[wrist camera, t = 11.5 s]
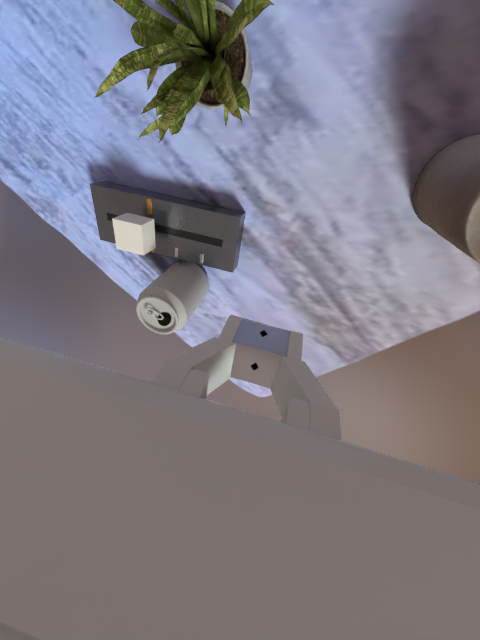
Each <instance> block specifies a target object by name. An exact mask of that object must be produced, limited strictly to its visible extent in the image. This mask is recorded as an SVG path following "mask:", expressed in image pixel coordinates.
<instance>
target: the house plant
mask: <svg viewBox="0 0 480 640" xmlns="http://www.w3.org/2000/svg"><path fill="white" fill-rule="evenodd" d="M113 1H115V2H116V3H117V4H119V5H120V6H121V7H122V8H123V9H124V10H126V11H127V12H128V13H129V14H131V15H132V16H133V17H134V18H136V19H137V20H138V21H137V22H135V23H134V24H133V26H132V28H131V34H132V36H133V38H134V41H135V42H136V43H137V44H138V45H140V46H143V47H144V48H140V49H137V50H135V51H132V52H130V53H128V54H127V55H125V56H123V57H122V58H120V59H119V61H118V62H117V64H116V65H115V66H114V68H113V69H112V71H111V72H110V74H109V76H108V77H107V78H106V79H105V80H104V81H103V83H102V84H101V85H100V87H99V89H98V92H97V95H96V96H95V97H98V96H100V95H101V94H103V93H104V92H106V91H108V90H109V89H111V88H112V87H113V86H114V85H116V84H117V83H119V82H120V81H122V80H123V79H124V78H126V77H127V76H129V75H130V74H132V73H134V72H136V71H139V70H142V69H147V68H150V72H149V75H148V80H147V83H148V89H149V88H150V85H151V83H152V81H153V78H154V76H155V74H156V72H157V69H158V67H159V66H161V65H165V64H170V63H176V70H175V71H174V72H173V73H172V74H170V75H169V76H168V77H167V78H166V79H165V81H164V82H163V83H162V84H161V86H160V87H159V89H158V92H157V95H156V96H155V97H154V98H153V99H152V100H151V101H150V103H148V104H147V105H146V106H145V107H144V110H143V112H142V113H145V112H147V111H149V110H151V109H153V108H155V107H156V114H157V116H158V115H162V116H161V117H160V118H158V119H157V120H155V121H154V122H152V123H151V124H150V125H149V126H148V127H147V128H146V129H145V130H144V131H143V132H142V133H141V135H140V136H139V138H140V137H141V136H144V135H148V134H150V133H151V132H153V131H155V130H157V129H158V128H159V134H160V141H161V140H162V138H163V137H164V135H165V133H166V131H167V129H168V128H169V129H170V132H171V134H176V133H178V132H179V131H180V130H181V128H182V126H183V123H184V120H185V117H186V114H187V113H188V112H189V111H190V110H191V109H192V108H193V107H194V106H195V104H198V105H199V106H201V107H204V108H207V109H219V108H221V107H224V117H225V125H226V124H227V120H228V110H229V112H230V113H231V114H232V115H233V116H235V117H237V118H238V119H240V120H241V123H242V119H241V114H240V111H239V108H238V107H240V108H242V109H243V110H245V111H246V112H248V114H249V115H250V112H249V105H250V98H249V95H248V92H247V90H248V88H249V86H250V83H251V78H252V64H251V58H250V53H249V47H248V42H247V37H246V33H245V31H244V27H246V26H247V25H248V24H250V23H251V22H252V21H253V20H254V19H255V18H256V17H257V16H258V15H259V14H260V13H261V12H262V11H263V10H264V9H265V8H266V7H268V6H269V5H274V4H273V3H272V2H270V1H269V0H242V2H241V3H240V4H239V6H238V7H237V8H236V10H235V11H233V10H232V9H231V8H230V7H228V6H227V5H226V4H225V3H222V2H219V1H216V0H184V2H185V4H186V7H187V9H188V13H187V12H186V9H185V6H184V3H183V0H175V2H176V4H177V6H178V7H177V6H176V5H175V4H174V3H173V2H172V1H170V0H156V1H157V2H158V3H160V4H161V5H162V6H163V7H164V8H165V9H166V10H167V11H168V12H170V13H171V14H172V15H173V16H174V17H175V18H177V19H178V20H179V21H180V22H181V23H178V24H176V23H175V22H173V21H171V20H170V19H168V18H166V17H165V16H163V15H161V14H159V13H157V12H156V11H154V10H153V9H152V8H150V7H149V6H148V5H146V4H145V3H144V2H143V1H141V0H113ZM147 91H148V90H147ZM142 113H141V114H142ZM160 141H159V142H160Z"/></svg>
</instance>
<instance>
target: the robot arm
mask: <svg viewBox="0 0 480 640" xmlns="http://www.w3.org/2000/svg"><path fill="white" fill-rule="evenodd" d="M302 342H303V334H302V333H298V332H294V331H288V330H284V329H280V328H276V327H273V326H269V325H266V324H262V323H259V322H255V321H252V320H248V319H245V318H241V317H238V316H234V315H230V316H229V318H228V320H227V322H226V324H225V326H224V328H223V330H222V332H221V334H220V336H219V338H216V337H215V338H212V339H210V340H208V341H206V342H204V343H202V344H199V345H197V346H195V347H193V348H191V349H188V350H186V351H184V352H182V353H180V354H178V355H175V356H173V357H171V358H169V359H167V360H166V361H165V362H164V364H163V365H162V367H161V368H160V370H159V371H158V372H157V374H156V375H155V377H154V378H153V380H152V381H151V382H148V381H145V380H141V379H138V378H134V377H132V376H128V375H125V374H121V373H118V372H115V371H112V370H108V369H105V368H102V367H99V366H96V365H92V364H89V363H86V362H83V361H79V360H76V359H73V358H69V357H66V356H63V355H60V354H56V353H53V352H50V351H47V350H43V349H40V348H37V347H34V346H30V345H27V344H24V343H20V342H17V341H14V340H11V339H8V338H4V337H1V336H0V640H480V483H477V482H474V481H471V480H468V479H465V478H461V477H458V476H455V475H452V474H448V473H445V472H442V471H439V470H435V469H432V468H429V467H425V466H422V465H419V464H415V463H412V462H409V461H406V460H402V459H399V458H396V457H393V456H390V455H386V454H383V453H380V452H376V451H373V450H370V449H366V448H363V447H360V446H357V445H353V444H350V443H347V442H344V441H341V430H340V416H339V410H338V409H337V407H336V406H335V404H334V403H333V401H332V400H331V399H330V397H329V396H328V394H327V393H326V392H325V390H324V389H323V387H322V386H321V384H320V383H319V382H318V380H317V379H316V377H315V376H314V374H313V373H312V372H311V370H310V369H309V367H308V366H307V365H306V363H305V362H303V361H301V356H302ZM230 377H233V378H236V379H240V380H244V381H248V382H251V383H254V384H257V385H261V386H264V387H267V388H270V389H271V391H272V394H273V396H274V399H275V401H276V404H277V406H278V409H279V411H280V414H281V416H282V419H281V421H280V422H278V421H275V420H272V419H269V418H266V417H262V416H259V415H256V414H252V413H249V412H246V411H243V410H239V409H236V408H233V407H230V406H226V405H223V404H220V403H216V402H213V401H210V400H207V399H206V397H207V395H208V394H209V393H211V392H212V391H213V390H215V389H216V388H217V387H219V386H220V385H221V384H222V383H224V382H225V381H226V380H228V379H229V378H230Z"/></svg>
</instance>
